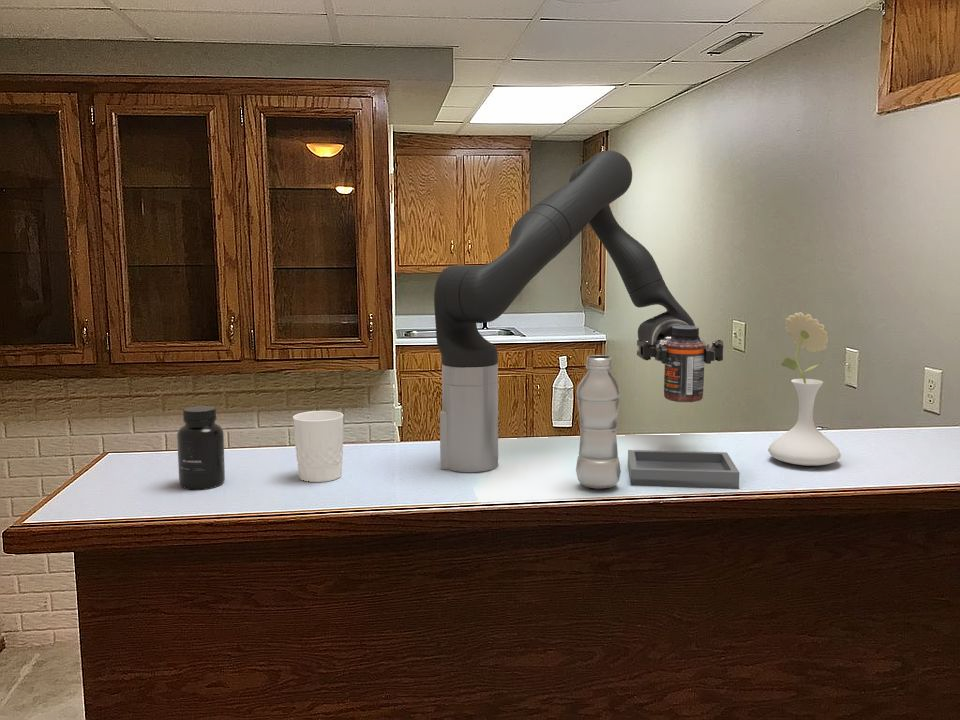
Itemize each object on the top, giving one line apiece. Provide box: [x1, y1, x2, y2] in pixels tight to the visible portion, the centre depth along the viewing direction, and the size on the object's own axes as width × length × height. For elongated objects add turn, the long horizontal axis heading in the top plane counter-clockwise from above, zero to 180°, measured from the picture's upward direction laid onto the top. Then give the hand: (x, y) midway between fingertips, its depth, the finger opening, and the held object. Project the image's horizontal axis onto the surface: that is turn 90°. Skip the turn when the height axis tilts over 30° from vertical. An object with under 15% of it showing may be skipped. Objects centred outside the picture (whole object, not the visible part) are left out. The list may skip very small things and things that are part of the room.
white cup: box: [292, 410, 345, 483], centre depth 133 cm, size 8×8×10 cm
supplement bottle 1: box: [176, 405, 226, 490], centre depth 129 cm, size 7×7×12 cm
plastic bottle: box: [575, 354, 622, 489], centre depth 125 cm, size 6×7×20 cm
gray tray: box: [627, 449, 740, 490], centre depth 132 cm, size 16×12×2 cm
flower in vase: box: [767, 311, 842, 466], centre depth 139 cm, size 13×11×25 cm
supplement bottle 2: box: [663, 325, 705, 403], centre depth 128 cm, size 6×6×11 cm
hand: (686, 356), depth 125 cm, fingers closed on supplement bottle 2, 6 cm apart
